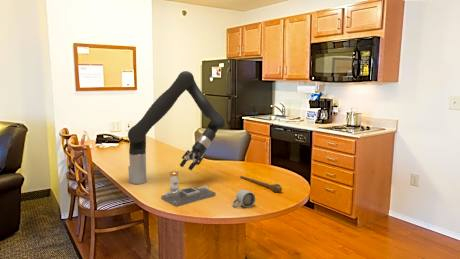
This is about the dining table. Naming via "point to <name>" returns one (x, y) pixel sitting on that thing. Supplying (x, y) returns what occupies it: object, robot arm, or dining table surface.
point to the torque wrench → (265, 184)
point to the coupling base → (188, 195)
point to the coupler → (174, 181)
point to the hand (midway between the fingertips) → (185, 167)
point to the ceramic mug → (244, 199)
